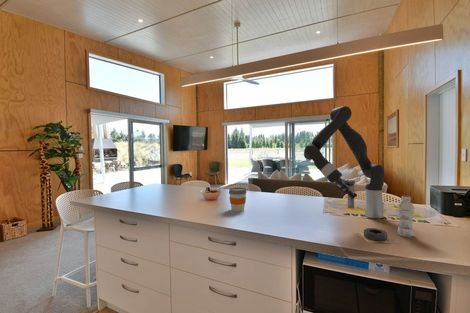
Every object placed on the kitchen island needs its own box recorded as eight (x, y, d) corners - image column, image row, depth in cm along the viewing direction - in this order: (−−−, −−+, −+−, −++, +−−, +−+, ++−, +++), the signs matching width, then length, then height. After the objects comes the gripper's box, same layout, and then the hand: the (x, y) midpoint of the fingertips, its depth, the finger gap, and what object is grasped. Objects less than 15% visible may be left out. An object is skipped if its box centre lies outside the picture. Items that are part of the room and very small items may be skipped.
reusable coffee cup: (249, 209, 177) (249, 188, 177) (240, 213, 167) (240, 191, 166) (235, 206, 184) (234, 187, 183) (225, 210, 173) (225, 189, 173)
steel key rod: (353, 206, 132) (353, 180, 132) (356, 208, 128) (356, 181, 128) (345, 206, 133) (345, 180, 132) (348, 208, 129) (348, 181, 128)
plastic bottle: (394, 235, 122) (394, 195, 121) (406, 234, 123) (407, 195, 122) (404, 240, 116) (404, 198, 115) (417, 239, 116) (418, 197, 116)
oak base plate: (381, 235, 122) (381, 233, 122) (395, 244, 110) (395, 242, 110) (356, 235, 123) (356, 233, 123) (368, 244, 111) (368, 242, 111)
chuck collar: (380, 234, 120) (380, 228, 120) (390, 241, 111) (390, 234, 111) (361, 234, 121) (361, 228, 121) (370, 241, 112) (370, 234, 112)
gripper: (332, 169, 129) (357, 195, 122) (339, 167, 140) (363, 190, 133) (322, 179, 132) (346, 204, 125) (330, 176, 143) (352, 199, 136)
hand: (355, 197), depth 129 cm, fingers closed on steel key rod, 3 cm apart
